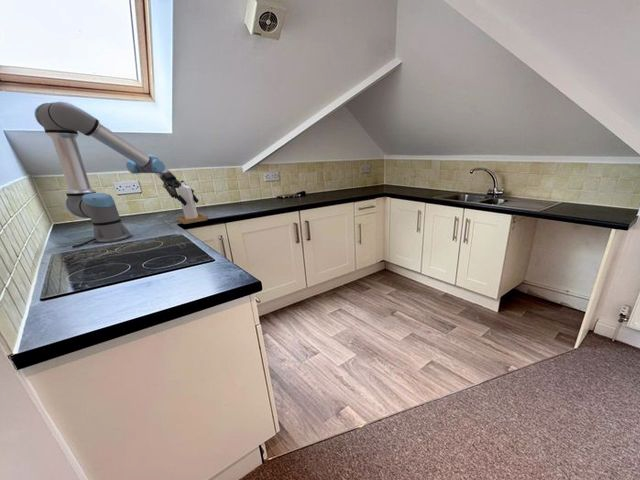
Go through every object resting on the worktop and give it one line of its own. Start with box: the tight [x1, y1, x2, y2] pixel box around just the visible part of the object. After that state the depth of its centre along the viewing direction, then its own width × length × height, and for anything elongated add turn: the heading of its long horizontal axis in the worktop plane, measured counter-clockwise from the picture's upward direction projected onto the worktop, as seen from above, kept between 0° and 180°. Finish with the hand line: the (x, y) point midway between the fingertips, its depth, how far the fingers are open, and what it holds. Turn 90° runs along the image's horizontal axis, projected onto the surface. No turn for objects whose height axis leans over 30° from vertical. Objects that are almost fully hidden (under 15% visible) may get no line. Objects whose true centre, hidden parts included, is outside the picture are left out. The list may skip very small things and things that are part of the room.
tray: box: [176, 212, 208, 225], centre depth 194 cm, size 14×13×3 cm
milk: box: [176, 181, 199, 219], centre depth 190 cm, size 6×6×22 cm
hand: (191, 202), depth 189 cm, fingers closed on milk, 8 cm apart
